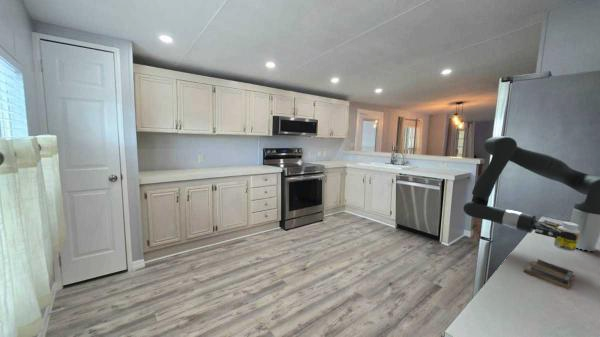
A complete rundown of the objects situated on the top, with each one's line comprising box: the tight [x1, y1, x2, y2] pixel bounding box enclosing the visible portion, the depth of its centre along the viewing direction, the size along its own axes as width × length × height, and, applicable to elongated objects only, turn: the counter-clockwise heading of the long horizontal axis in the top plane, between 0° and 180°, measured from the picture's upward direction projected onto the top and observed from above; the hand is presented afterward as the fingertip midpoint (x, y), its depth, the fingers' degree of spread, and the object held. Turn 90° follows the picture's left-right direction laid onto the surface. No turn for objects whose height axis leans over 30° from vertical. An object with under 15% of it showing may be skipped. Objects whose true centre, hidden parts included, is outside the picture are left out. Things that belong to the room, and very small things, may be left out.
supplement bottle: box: [553, 221, 580, 252], centre depth 91 cm, size 6×6×10 cm
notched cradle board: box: [523, 258, 576, 290], centre depth 85 cm, size 12×11×2 cm
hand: (577, 236), depth 89 cm, fingers closed on supplement bottle, 5 cm apart
